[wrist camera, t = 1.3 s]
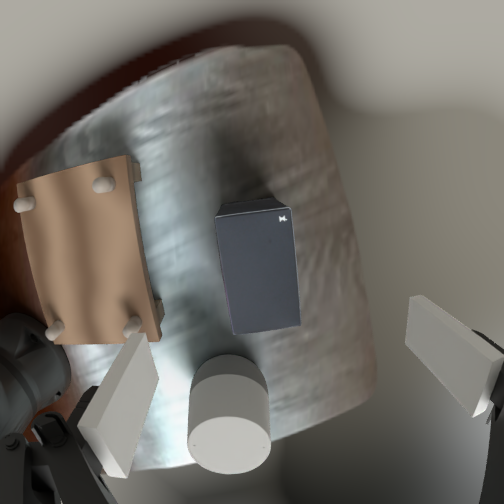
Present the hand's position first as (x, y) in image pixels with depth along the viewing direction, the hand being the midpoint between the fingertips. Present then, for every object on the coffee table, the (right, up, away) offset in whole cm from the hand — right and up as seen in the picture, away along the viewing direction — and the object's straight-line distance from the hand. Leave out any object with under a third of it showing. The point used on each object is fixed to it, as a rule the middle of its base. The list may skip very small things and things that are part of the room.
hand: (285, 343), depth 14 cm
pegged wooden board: (-20, +5, +20) cm, 28 cm away
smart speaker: (-5, -12, +25) cm, 28 cm away
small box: (-2, +5, +21) cm, 22 cm away
